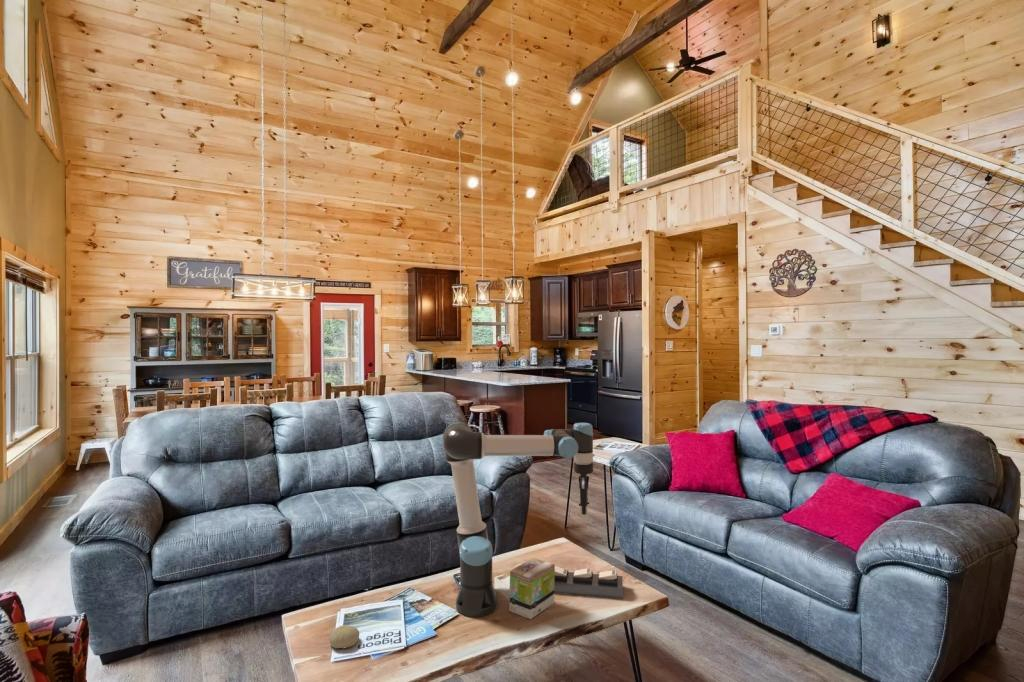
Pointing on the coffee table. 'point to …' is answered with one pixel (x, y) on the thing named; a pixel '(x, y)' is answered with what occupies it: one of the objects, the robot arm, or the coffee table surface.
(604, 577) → the rocker
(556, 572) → the rocker
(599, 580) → the rocker switch panel
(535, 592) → the tea box
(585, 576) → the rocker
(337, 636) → the brown kiwi fruit
